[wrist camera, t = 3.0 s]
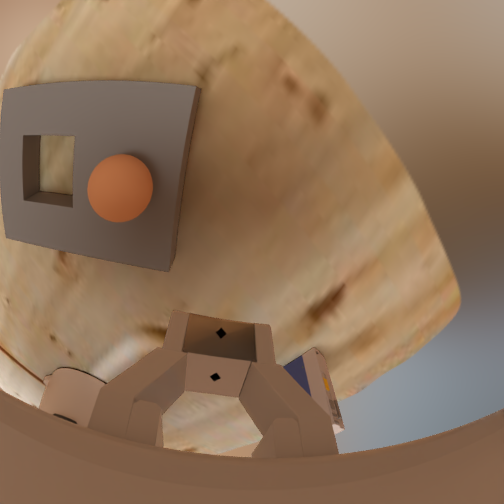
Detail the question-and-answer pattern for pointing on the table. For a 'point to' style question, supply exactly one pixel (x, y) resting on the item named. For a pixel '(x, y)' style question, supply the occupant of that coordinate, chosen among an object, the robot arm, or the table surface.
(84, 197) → the pocket board
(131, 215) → the ball
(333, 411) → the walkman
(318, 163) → the table surface
